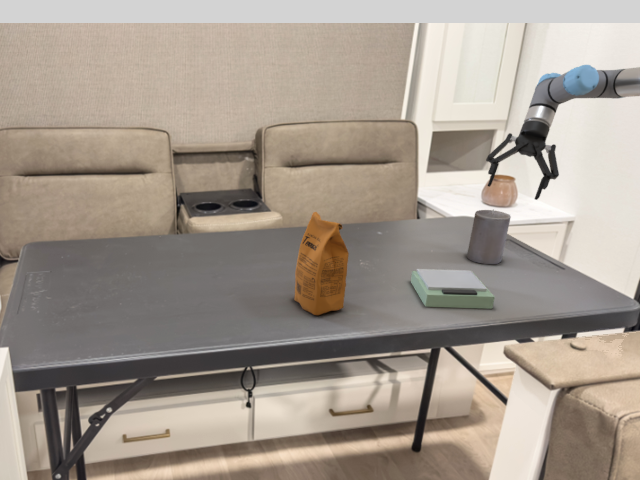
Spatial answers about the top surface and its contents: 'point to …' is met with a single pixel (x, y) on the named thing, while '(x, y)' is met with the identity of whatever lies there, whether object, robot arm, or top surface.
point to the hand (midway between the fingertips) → (512, 191)
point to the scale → (451, 289)
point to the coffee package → (321, 267)
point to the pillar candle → (488, 236)
